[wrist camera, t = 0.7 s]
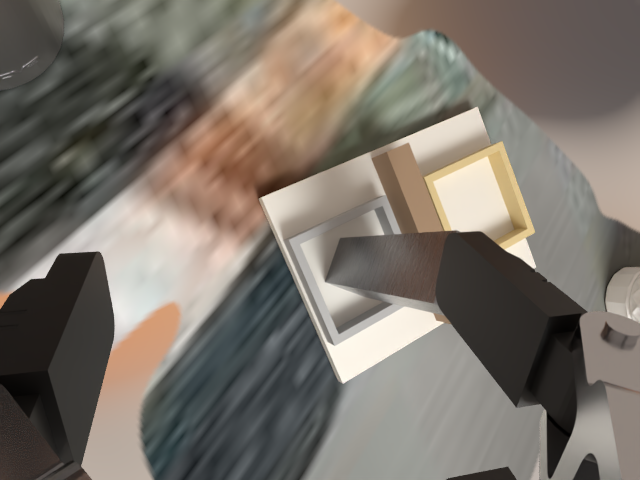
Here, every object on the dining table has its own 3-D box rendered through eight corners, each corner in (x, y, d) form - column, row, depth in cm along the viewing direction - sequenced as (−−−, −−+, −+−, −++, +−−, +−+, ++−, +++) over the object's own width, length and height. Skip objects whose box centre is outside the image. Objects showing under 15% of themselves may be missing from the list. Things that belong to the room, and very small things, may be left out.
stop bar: (324, 282, 33) (433, 303, 20) (340, 237, 34) (456, 230, 20) (365, 297, 34) (493, 326, 21) (379, 254, 35) (514, 256, 22)
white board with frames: (337, 380, 34) (356, 393, 31) (258, 198, 33) (269, 193, 29) (527, 266, 41) (559, 268, 38) (469, 110, 39) (498, 97, 36)
